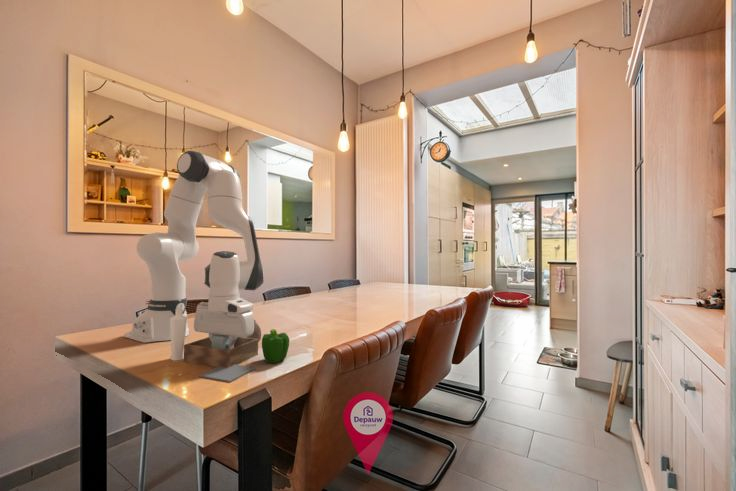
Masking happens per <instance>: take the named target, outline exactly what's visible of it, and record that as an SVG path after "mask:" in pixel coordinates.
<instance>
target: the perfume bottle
mask: <svg viewBox="0 0 736 491" xmlns="http://www.w3.org/2000/svg"><path fill="white" fill-rule="evenodd" d="M175 310H176V313H175V316H174V317H172V318H170V330H171V340H170V343H171V344H170V346H171V354H170V358H169V360H171V361H174V362H175V361H182V360H184V345H185V339H186V336H185V332H186V323H187V324H188V316H187V317H186V316H183V315H182V313H183V309H175Z"/></svg>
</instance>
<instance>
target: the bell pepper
mask: <svg viewBox="0 0 736 491" xmlns="http://www.w3.org/2000/svg"><path fill="white" fill-rule="evenodd" d="M269 332H270V333H266V334H263V336H262V337H261V350H262V354H263V358H264V360H265V362H266V363H270V364H276V363H279V362H280V361H284V360H286V357H287V354H288V351H289V347H290V337H289V335H288V334H287V333H286V332H281V333H278V332H277V330H276V329H275V328H272V329H270V331H269Z"/></svg>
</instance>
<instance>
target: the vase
mask: <svg viewBox="0 0 736 491" xmlns="http://www.w3.org/2000/svg"><path fill="white" fill-rule="evenodd" d="M246 338H254V339H258V343H259V342H260V340H262V329H261V326H260V325H259V324H258V323H257V322H256V319H254V332H253V334H252V335H251V336H249V337H246Z"/></svg>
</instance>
